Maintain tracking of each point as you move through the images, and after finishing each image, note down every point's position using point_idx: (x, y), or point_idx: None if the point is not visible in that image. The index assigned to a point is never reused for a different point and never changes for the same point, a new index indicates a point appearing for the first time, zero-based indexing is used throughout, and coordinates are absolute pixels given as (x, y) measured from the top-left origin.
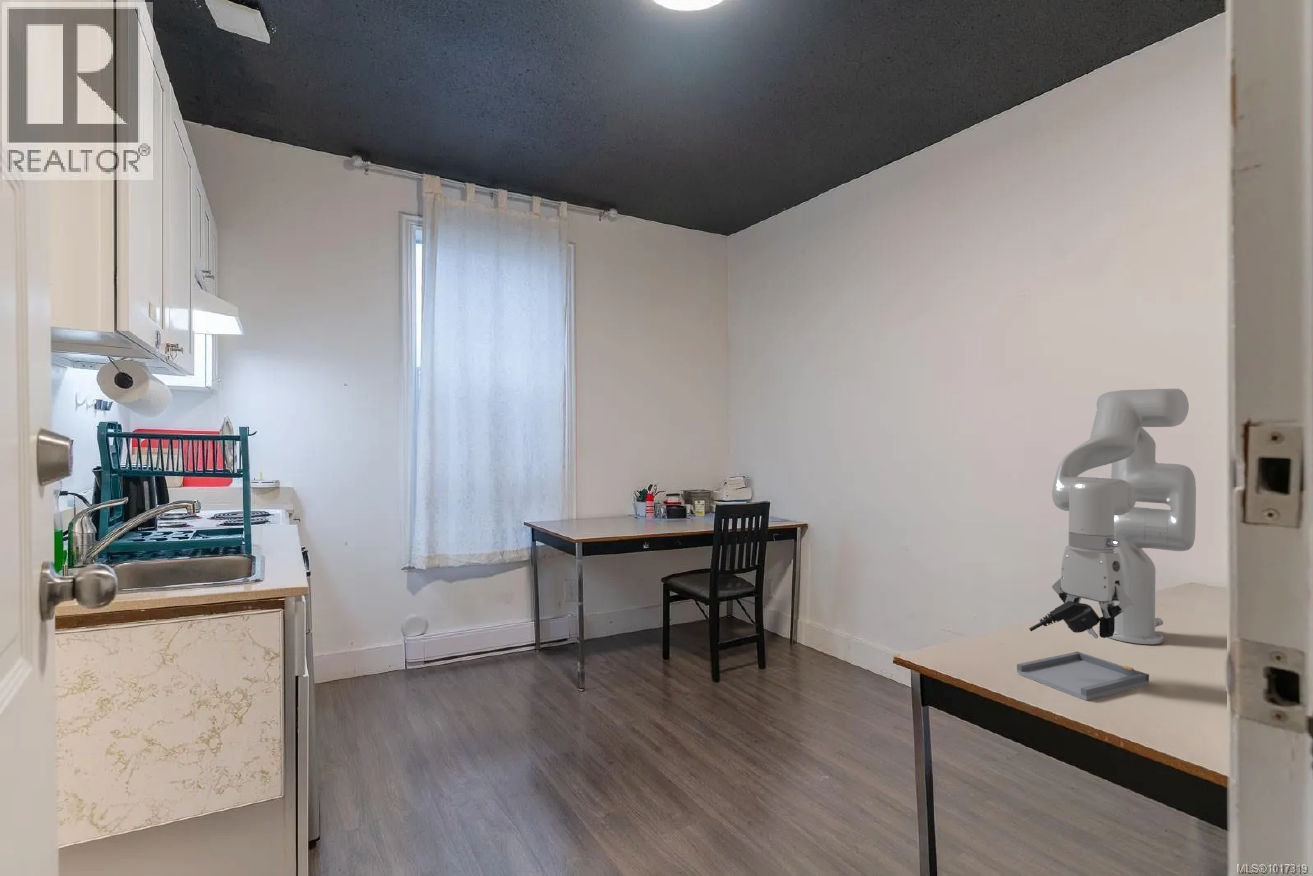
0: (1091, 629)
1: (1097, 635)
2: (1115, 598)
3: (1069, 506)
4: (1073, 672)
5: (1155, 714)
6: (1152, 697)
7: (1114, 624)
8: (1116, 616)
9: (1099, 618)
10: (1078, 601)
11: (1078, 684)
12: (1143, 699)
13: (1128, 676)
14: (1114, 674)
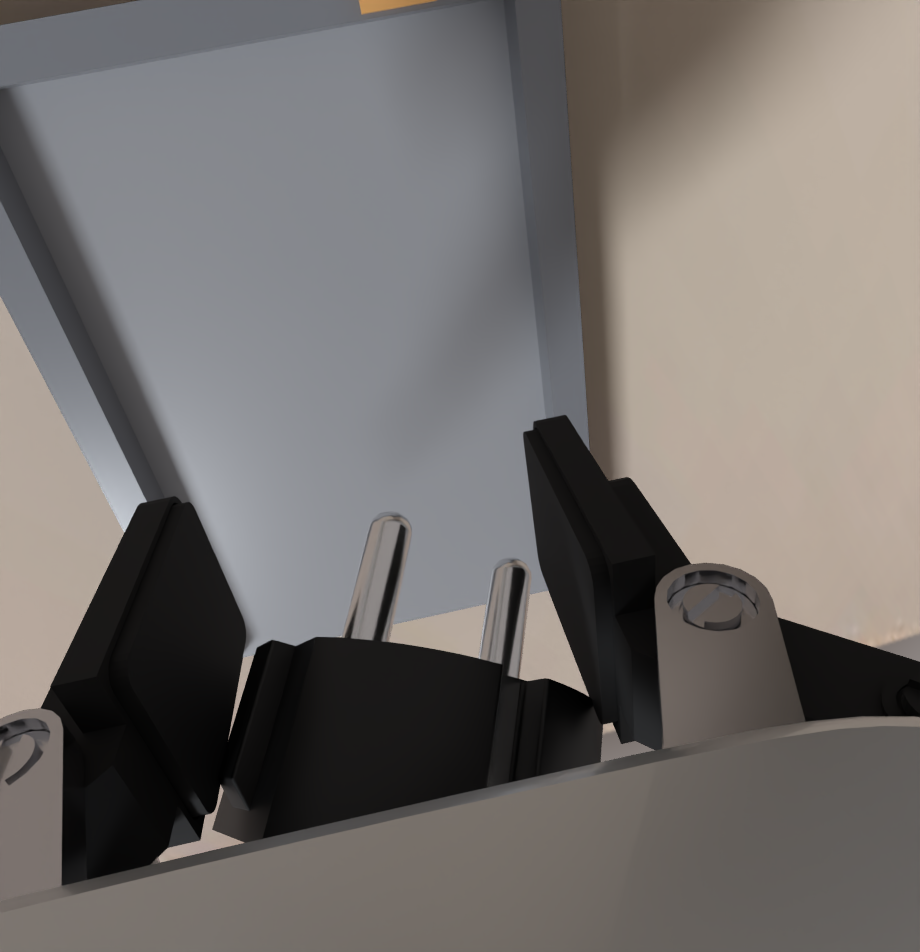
0: (519, 671)
1: (528, 581)
2: (823, 759)
3: None
4: (285, 399)
5: (810, 386)
6: (687, 179)
7: (667, 530)
8: (728, 574)
9: (583, 707)
10: (83, 834)
11: (461, 513)
12: (681, 270)
13: (534, 183)
14: (368, 124)
